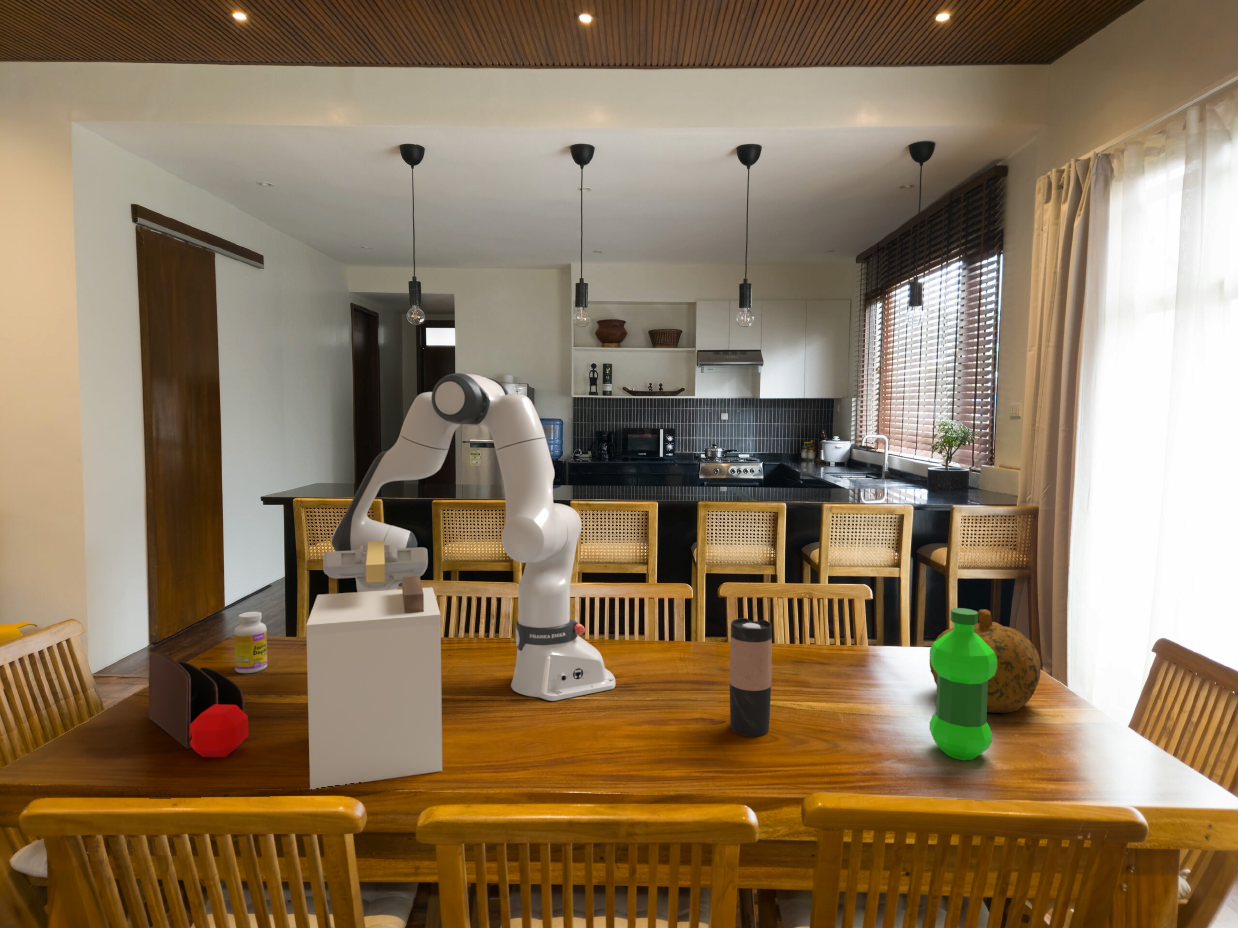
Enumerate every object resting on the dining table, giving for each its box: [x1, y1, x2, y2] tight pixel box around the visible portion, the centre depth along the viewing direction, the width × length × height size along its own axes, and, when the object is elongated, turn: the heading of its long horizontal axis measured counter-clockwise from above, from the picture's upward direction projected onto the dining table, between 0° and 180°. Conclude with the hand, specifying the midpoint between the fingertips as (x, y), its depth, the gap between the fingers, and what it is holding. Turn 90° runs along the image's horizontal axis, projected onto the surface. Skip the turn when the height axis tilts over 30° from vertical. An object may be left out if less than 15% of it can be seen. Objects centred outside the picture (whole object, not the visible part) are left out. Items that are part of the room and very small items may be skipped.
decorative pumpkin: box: [929, 608, 1041, 714], centre depth 148 cm, size 20×21×20 cm
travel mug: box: [729, 617, 773, 737], centre depth 135 cm, size 8×8×20 cm
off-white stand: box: [305, 586, 443, 791], centre depth 124 cm, size 20×20×26 cm
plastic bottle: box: [929, 607, 997, 761], centre depth 125 cm, size 10×10×25 cm
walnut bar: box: [401, 576, 424, 613], centre depth 125 cm, size 3×14×3 cm, turn 18°
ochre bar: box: [366, 541, 385, 583], centre depth 134 cm, size 3×24×3 cm, turn 18°
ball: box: [190, 704, 250, 758], centre depth 125 cm, size 8×8×8 cm
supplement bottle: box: [233, 611, 268, 674], centre depth 166 cm, size 7×7×13 cm
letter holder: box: [148, 651, 246, 750], centre depth 136 cm, size 10×20×14 cm, turn 50°
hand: (376, 549), depth 142 cm, fingers closed on ochre bar, 3 cm apart
